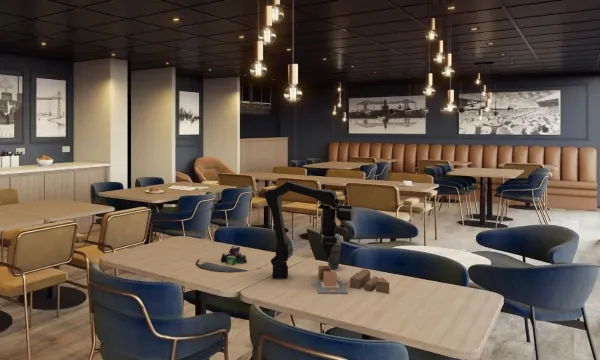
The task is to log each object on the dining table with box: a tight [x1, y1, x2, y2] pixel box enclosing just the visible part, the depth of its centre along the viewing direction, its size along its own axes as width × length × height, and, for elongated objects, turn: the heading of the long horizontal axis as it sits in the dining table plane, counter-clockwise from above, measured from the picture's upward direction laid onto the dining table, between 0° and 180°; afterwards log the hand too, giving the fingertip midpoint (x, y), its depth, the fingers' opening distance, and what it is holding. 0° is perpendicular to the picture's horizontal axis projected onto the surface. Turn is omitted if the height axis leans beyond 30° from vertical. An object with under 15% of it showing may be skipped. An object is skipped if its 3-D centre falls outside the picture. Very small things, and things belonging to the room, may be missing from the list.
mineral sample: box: [195, 245, 262, 273], centre depth 249 cm, size 35×35×9 cm
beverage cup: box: [327, 235, 342, 271], centre depth 241 cm, size 7×7×20 cm
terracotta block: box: [322, 270, 338, 286], centre depth 214 cm, size 5×5×5 cm
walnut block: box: [317, 265, 332, 281], centre depth 226 cm, size 5×5×5 cm
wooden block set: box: [349, 268, 390, 294], centre depth 217 cm, size 17×6×18 cm
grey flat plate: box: [314, 280, 349, 295], centre depth 212 cm, size 12×16×1 cm
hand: (327, 255), depth 219 cm, fingers open, 9 cm apart
